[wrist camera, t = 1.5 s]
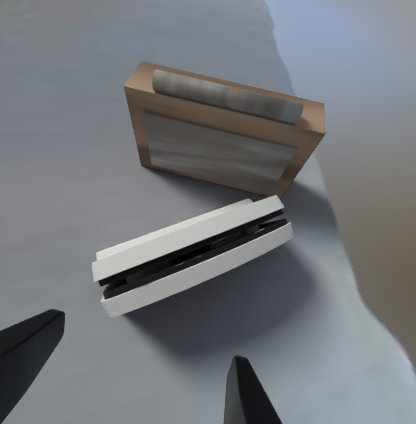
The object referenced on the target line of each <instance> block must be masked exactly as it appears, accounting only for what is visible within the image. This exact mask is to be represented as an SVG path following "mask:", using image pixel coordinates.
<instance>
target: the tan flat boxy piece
mask: <svg viewBox="0 0 416 424" xmlns="http://www.w3.org/2000/svg"><path fill="white" fill-rule="evenodd" d="M124 89H125V93H126V98H127V102H128V107H129V112H130V116H131V121H132V125H133V130H134V134H135V139H136V143H137V148H138V153H139V157H140V162H141V166H145V167H149V168H153V169H157V170H161V171H166V172H170V173H174V174H178V175H182V176H186V177H190V178H195V179H199V180H203V181H207V182H211V183H215V184H219V185H224V186H228V187H232V188H236V189H240V190H244V191H248V192H253V193H257V194H261V195H265V196H269V197H271V196H274V195H277V196H278V198H279V199H280V198H281V197H282V196H283V194H284V193H285V191H286V190H287V188H288V187H289V186H290V184H291V183H292V181H293V180H294V178H295V177H296V176H297V174H298V173H299V171H300V170H301V168H302V167H303V166H304V164H305V163H306V161H307V160H308V158H309V157H310V155H311V154H312V153H313V151H314V150H315V148H316V147H317V145H318V144H319V143H320V141H321V140H322V138H323V137H324V135H325V134H326V131H325V112H324V104H323V103H319V102H315V101H311V100H306V99H302V98H298V97H294V96H289V95H285V94H281V93H277V92H272V91H268V90H264V89H259V88H255V87H251V86H247V85H242V84H238V83H234V82H229V81H225V80H221V79H217V78H212V77H208V76H204V75H200V74H195V73H191V72H187V71H182V70H178V69H174V68H170V67H165V66H161V65H157V64H153V63H148V62H144V61H141V62H140V63H139V65H138V66H137V68H136V69H135V71H134V72H133V74H132V75H131V76H130V78H129V79H128V81H127V82H126V84H125V85H124Z"/></svg>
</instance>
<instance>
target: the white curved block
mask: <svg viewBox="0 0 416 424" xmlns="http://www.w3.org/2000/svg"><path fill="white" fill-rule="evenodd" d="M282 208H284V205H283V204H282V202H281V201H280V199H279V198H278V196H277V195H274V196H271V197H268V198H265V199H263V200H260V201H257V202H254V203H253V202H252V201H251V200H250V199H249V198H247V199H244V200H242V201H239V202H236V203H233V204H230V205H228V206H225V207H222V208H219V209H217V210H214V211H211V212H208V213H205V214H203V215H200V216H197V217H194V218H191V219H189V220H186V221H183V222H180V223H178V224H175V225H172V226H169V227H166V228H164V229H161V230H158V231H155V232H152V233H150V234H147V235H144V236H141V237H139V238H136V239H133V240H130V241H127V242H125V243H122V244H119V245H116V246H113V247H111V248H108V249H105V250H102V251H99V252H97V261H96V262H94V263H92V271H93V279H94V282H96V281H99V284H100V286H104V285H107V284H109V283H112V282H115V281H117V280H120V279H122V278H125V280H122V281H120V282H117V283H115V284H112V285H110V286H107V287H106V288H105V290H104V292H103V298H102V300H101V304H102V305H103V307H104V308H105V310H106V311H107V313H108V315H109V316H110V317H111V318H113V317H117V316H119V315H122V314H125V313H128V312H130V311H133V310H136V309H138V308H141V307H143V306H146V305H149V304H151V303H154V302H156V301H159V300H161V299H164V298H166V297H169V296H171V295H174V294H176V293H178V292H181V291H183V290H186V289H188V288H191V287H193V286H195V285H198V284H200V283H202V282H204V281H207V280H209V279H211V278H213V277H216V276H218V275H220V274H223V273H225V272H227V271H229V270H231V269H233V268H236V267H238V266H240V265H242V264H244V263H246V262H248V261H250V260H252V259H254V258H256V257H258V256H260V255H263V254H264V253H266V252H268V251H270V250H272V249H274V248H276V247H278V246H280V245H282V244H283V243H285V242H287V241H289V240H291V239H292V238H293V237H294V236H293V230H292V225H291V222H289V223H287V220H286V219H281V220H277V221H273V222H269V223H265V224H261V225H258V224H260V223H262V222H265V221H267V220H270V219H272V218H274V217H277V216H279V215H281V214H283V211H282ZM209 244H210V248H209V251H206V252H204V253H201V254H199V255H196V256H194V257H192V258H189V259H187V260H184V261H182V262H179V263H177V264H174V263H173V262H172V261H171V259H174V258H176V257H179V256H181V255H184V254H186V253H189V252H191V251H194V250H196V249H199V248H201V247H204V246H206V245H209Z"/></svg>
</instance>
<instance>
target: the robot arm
mask: <svg viewBox="0 0 416 424" xmlns="http://www.w3.org/2000/svg"><path fill="white" fill-rule="evenodd" d="M64 325H65V313H64V312H63V311H59V310H55V309H50V310H48V311H45V312H43V313H41V314H38V315H36V316H34V317H31V318H29V319H27V320H24V321H22V322H20V323H17V324H15V325H13V326H10V327H8V328H6V329H3V330H1V331H0V424H1V423H2V422H3V421H4V419H5V418H6V417H7V416H8V414H9V413H10V412H11V411H12V409H13V408H14V407H15V405H16V404H17V403H18V402H19V400H20V399H21V398H22V396H23V395H24V394H25V392H26V391H27V390H28V388H29V387H30V385H31V384H32V383H33V381H34V380H35V378H36V377H37V375H38V374H39V372H40V370H41V369H42V367H43V366H44V364H45V363H46V361H47V360H48V358H49V357H50V355H51V354H52V352H53V351H54V349H55V348H56V346H57V345H58V343H59V342H60V340H61V338H62V336H63V333H64ZM224 424H282V422H281V420H280V418H279V416H278V415H277V413H276V411H275V409H274V407H273V405H272V403H271V402H270V400H269V398H268V396H267V394H266V392H265V390H264V388H263V387H262V385H261V383H260V381H259V379H258V377H257V375H256V374H255V372H254V370H253V368H252V366H251V364H250V362H249V361H248V359H247V358H245V357H241V356H238V355H235V356H234V357H233V360H232V363H231V366H230V369H229V372H228V376H227V384H226V397H225V411H224Z"/></svg>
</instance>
